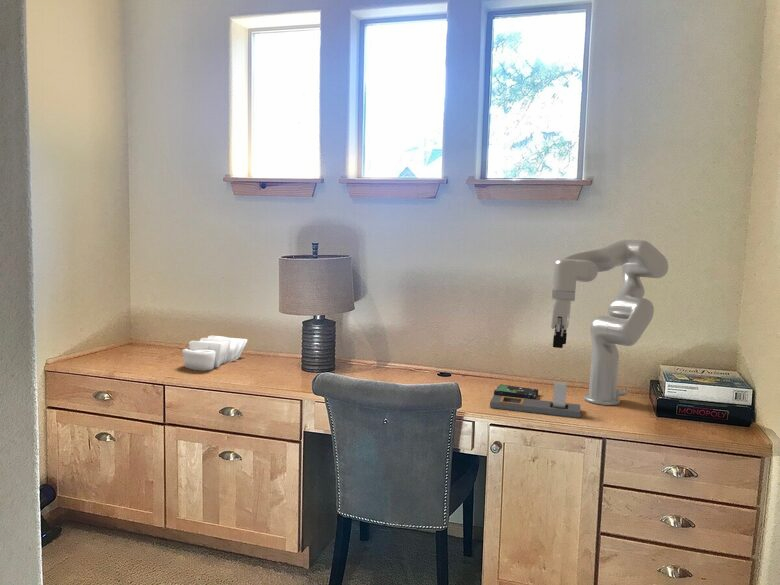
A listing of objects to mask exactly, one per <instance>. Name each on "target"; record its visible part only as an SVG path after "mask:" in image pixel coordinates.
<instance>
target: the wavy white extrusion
mask: <svg viewBox="0 0 780 585" xmlns="http://www.w3.org/2000/svg"><path fill="white" fill-rule="evenodd" d="M247 343H248V339H247V338H239V337H237V338H236V337H228V336H222V335H213V334H212V335H211V334H210V335H208V336H207V337H201V338H200V339H199V340H190V341H189V342H188V348H183V349H182V351H181V352H182V356H183V362H184V367H185V368H186V369H190V370H193V371H194V370H195V371H203V372H204V371H205V372H206V371H213V370H214V368H219V367H220V365H222V364H226V363H231V362H233V361H237V360H239V359H240V357H241V354H242V352H243V351H244V348H246V345H247Z"/></svg>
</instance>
